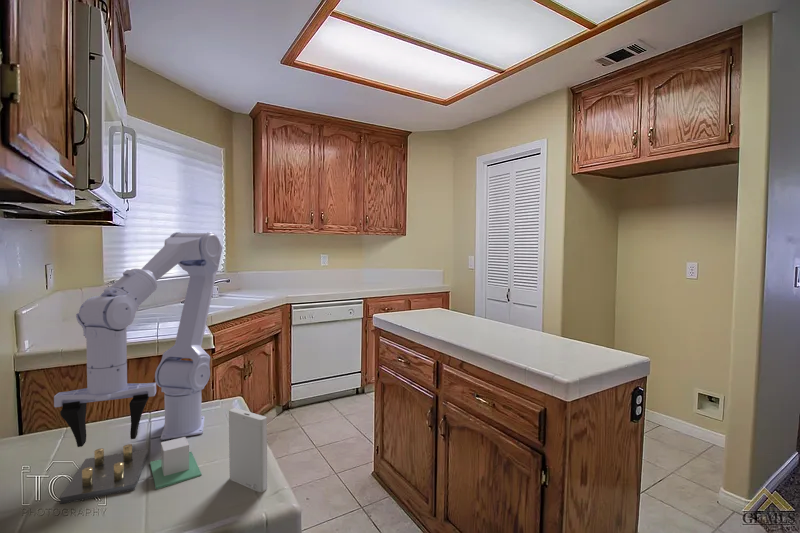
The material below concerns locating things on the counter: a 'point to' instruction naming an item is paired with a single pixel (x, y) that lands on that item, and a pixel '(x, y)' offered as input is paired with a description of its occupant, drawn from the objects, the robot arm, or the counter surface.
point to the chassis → (106, 475)
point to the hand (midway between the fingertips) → (108, 440)
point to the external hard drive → (248, 449)
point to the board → (174, 476)
